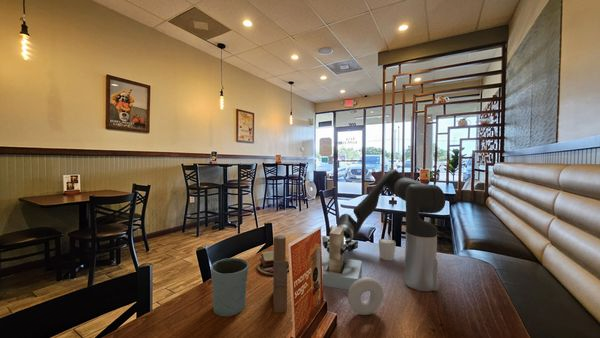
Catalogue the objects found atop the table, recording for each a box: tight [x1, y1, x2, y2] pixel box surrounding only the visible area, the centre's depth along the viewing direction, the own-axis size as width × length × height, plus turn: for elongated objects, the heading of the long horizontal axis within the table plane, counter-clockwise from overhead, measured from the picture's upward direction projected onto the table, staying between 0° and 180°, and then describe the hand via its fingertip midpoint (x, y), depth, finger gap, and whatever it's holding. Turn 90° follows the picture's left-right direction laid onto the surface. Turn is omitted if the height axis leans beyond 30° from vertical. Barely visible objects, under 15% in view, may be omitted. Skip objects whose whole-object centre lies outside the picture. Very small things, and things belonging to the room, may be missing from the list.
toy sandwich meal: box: [257, 250, 290, 276], centre depth 95 cm, size 12×14×5 cm
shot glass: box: [378, 238, 397, 261], centre depth 105 cm, size 7×7×7 cm
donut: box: [347, 276, 384, 316], centre depth 67 cm, size 10×3×10 cm, turn 104°
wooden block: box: [272, 234, 288, 313], centre depth 73 cm, size 4×11×18 cm, turn 7°
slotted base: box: [321, 255, 363, 291], centre depth 88 cm, size 16×14×4 cm
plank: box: [328, 226, 344, 274], centre depth 88 cm, size 4×8×16 cm, turn 162°
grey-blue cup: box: [210, 257, 249, 317], centre depth 70 cm, size 10×10×12 cm
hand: (335, 251), depth 85 cm, fingers closed on plank, 3 cm apart
